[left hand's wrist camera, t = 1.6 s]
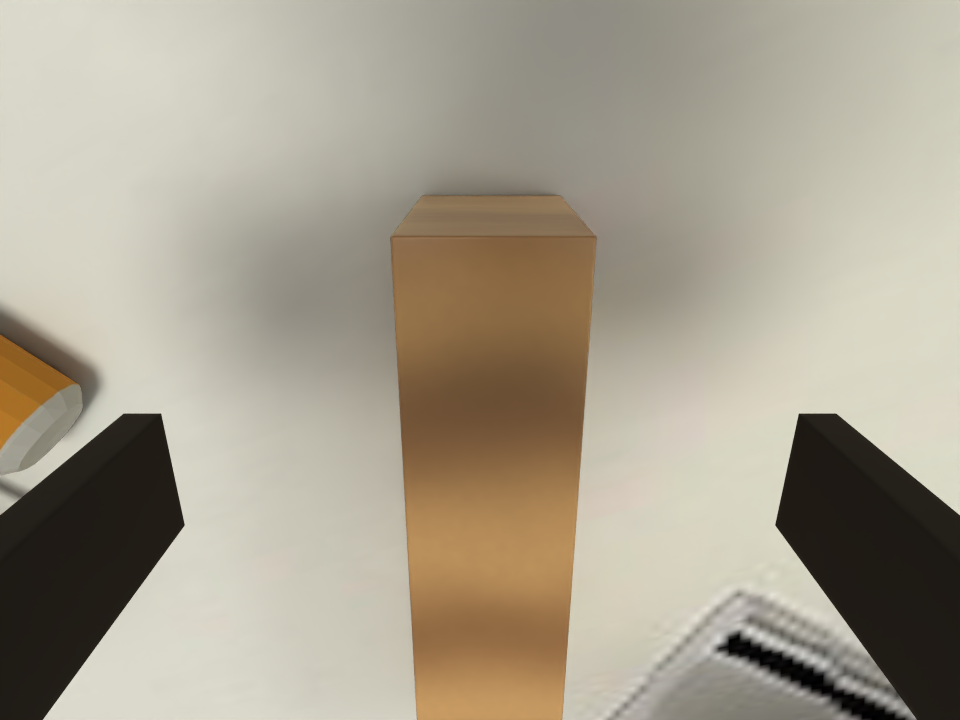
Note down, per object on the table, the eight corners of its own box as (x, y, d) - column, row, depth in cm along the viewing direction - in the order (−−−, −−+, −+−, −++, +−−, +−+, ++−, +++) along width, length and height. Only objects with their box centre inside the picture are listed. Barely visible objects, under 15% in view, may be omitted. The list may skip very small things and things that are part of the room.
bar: (421, 195, 22) (389, 235, 15) (561, 195, 22) (597, 236, 15) (439, 698, 32) (425, 872, 25) (536, 699, 32) (551, 874, 25)
